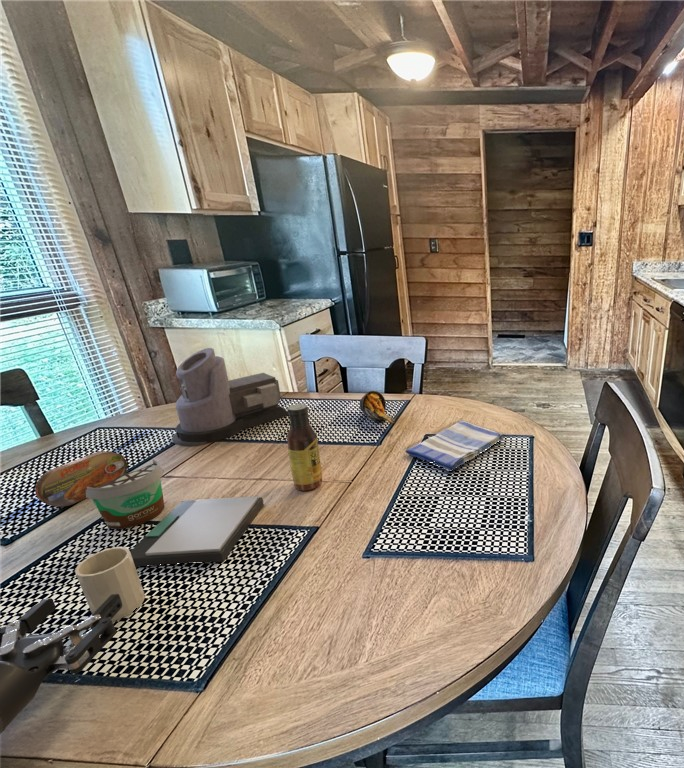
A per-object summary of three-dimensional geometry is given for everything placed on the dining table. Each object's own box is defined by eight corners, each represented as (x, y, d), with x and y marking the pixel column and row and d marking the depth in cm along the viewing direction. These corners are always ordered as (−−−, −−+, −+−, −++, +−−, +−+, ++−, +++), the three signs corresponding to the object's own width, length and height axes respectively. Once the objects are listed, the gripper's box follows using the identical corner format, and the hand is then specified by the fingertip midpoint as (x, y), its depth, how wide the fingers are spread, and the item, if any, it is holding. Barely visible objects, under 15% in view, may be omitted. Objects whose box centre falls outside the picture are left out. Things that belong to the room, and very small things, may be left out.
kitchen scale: (124, 568, 73) (120, 556, 72) (184, 508, 89) (181, 498, 88) (223, 562, 75) (220, 550, 74) (263, 505, 91) (261, 494, 90)
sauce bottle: (321, 490, 97) (310, 412, 90) (291, 494, 95) (278, 414, 88) (324, 475, 103) (314, 401, 96) (296, 478, 101) (284, 403, 94)
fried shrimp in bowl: (376, 394, 143) (410, 389, 132) (374, 426, 141) (408, 423, 130) (352, 390, 135) (386, 385, 125) (349, 424, 134) (384, 421, 123)
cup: (82, 624, 62) (63, 577, 59) (113, 592, 68) (97, 548, 65) (127, 621, 63) (110, 574, 60) (153, 589, 69) (139, 545, 66)
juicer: (185, 451, 111) (162, 364, 103) (163, 434, 120) (140, 352, 111) (295, 416, 135) (283, 342, 126) (269, 404, 143) (257, 334, 135)
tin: (49, 515, 85) (35, 479, 83) (40, 511, 86) (25, 476, 84) (132, 477, 99) (122, 446, 96) (123, 475, 100) (113, 443, 97)
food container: (118, 540, 79) (103, 496, 76) (98, 532, 81) (82, 488, 78) (186, 504, 90) (175, 464, 87) (167, 497, 92) (155, 458, 89)
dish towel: (505, 440, 123) (505, 432, 122) (452, 475, 105) (452, 465, 104) (460, 425, 132) (460, 417, 131) (404, 454, 113) (403, 445, 112)
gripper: (21, 694, 44) (132, 576, 59) (-139, 709, 42) (18, 583, 57) (45, 740, 47) (146, 616, 62) (-105, 756, 45) (37, 624, 60)
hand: (84, 600), depth 60 cm, fingers open, 8 cm apart
